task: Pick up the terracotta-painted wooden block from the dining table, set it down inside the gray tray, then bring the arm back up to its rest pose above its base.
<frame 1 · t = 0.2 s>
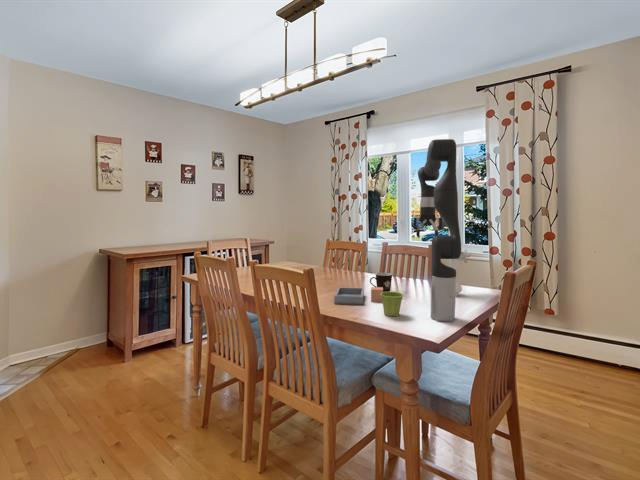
hand: (427, 237, 184), 29 cm above the table, tool pointing down, fingers open, 8 cm apart
coffee mug: (380, 293, 186), on the table
gray tray: (349, 299, 172), on the table
terracotta block: (376, 300, 170), on the table
plant pot: (391, 315, 148), on the table
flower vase: (451, 294, 182), on the table
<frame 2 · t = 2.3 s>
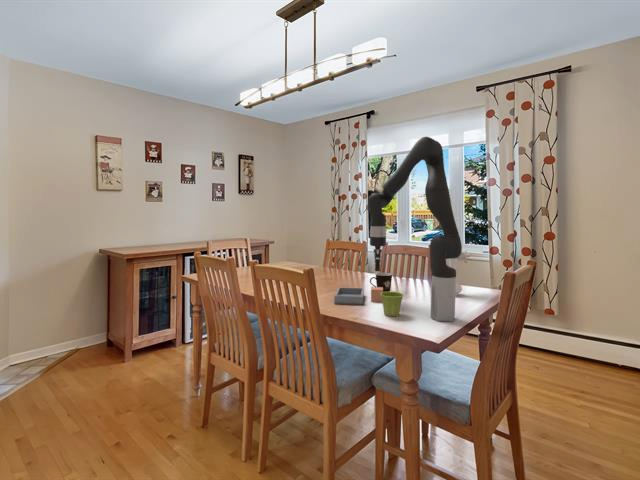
hand: (377, 269, 169), 15 cm above the table, tool pointing down, fingers open, 8 cm apart
nothing on the table moved.
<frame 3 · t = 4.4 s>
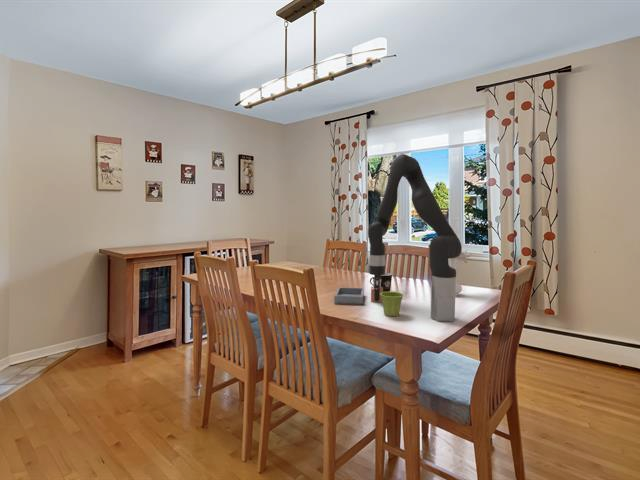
hand: (376, 298, 170), 1 cm above the table, tool pointing down, fingers closed on terracotta block, 5 cm apart
terracotta block: (376, 300, 170), on the table, touching gripper
everything else where it was.
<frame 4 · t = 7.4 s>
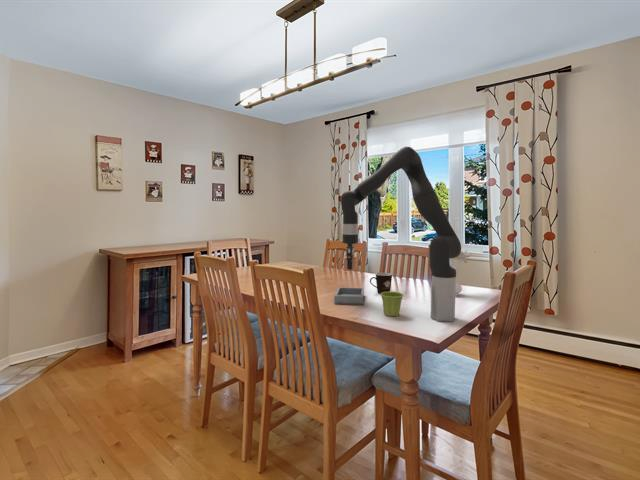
hand: (350, 268, 171), 15 cm above the table, tool pointing down, fingers closed on terracotta block, 5 cm apart
terracotta block: (350, 269, 171), point 15 cm above the table, touching gripper
everything else where it was.
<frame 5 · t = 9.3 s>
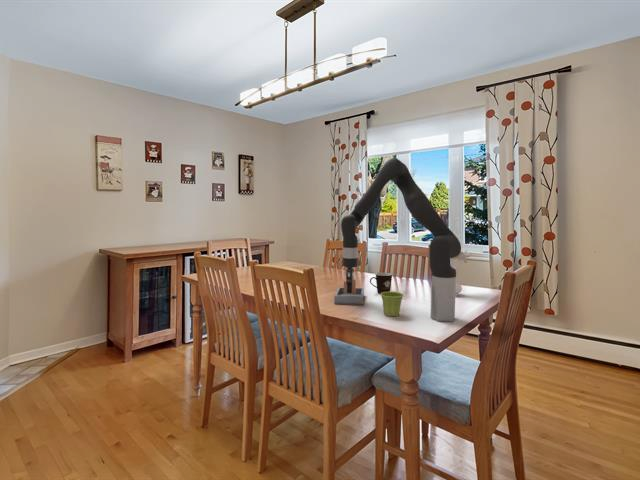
hand: (349, 291, 172), 4 cm above the table, tool pointing down, fingers closed on terracotta block, 5 cm apart
terracotta block: (349, 292, 172), point 3 cm above the table, touching gripper
everything else where it was.
when the fingers open (3 cm above the table, at t = 10.5 s): terracotta block drops 1 cm, resting on gray tray.
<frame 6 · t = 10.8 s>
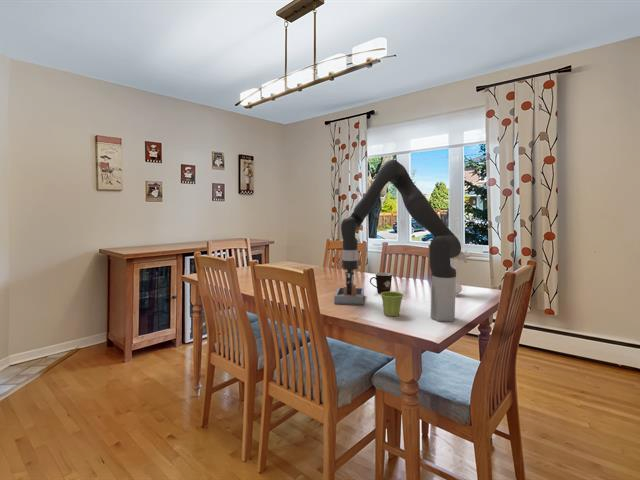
hand: (349, 292, 172), 4 cm above the table, tool pointing down, fingers open, 8 cm apart
terracotta block: (349, 297, 172), point 1 cm above the table, touching gray tray
everything else where it was.
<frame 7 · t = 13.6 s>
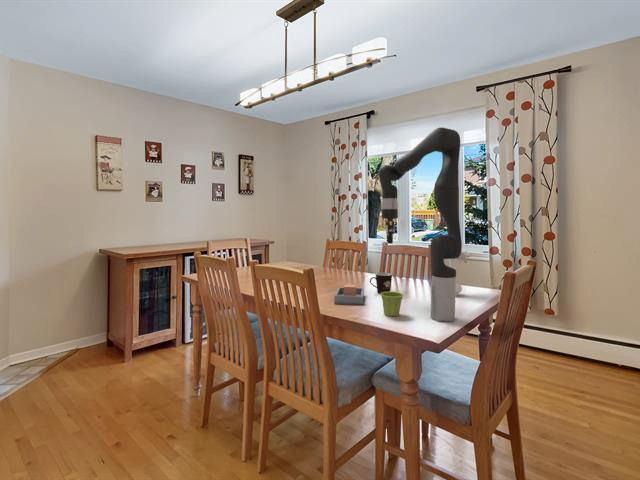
hand: (389, 242, 167), 28 cm above the table, tool pointing down, fingers open, 8 cm apart
nothing on the table moved.
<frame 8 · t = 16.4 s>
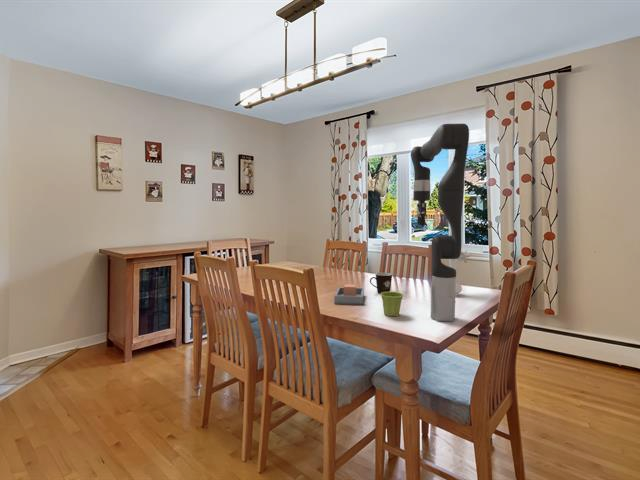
hand: (421, 225, 166), 36 cm above the table, tool pointing down, fingers open, 8 cm apart
nothing on the table moved.
at the end: terracotta block inside the target area on the gray tray (0.1 cm from its centre), point 0.8 cm above the gray tray's base; terracotta block tilted 0°; the gripper is holding nothing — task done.
